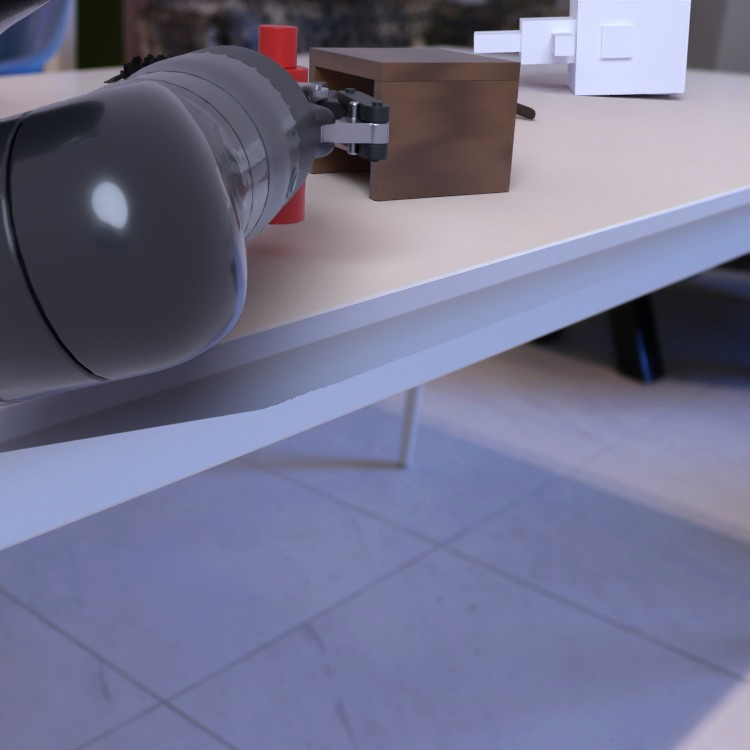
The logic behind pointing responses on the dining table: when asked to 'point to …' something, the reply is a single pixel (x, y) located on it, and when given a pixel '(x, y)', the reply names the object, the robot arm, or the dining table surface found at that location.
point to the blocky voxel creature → (606, 45)
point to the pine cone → (137, 66)
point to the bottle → (283, 50)
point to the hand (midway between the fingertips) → (286, 99)
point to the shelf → (428, 118)
